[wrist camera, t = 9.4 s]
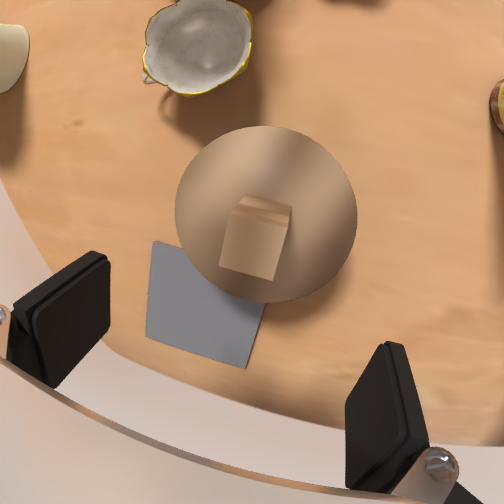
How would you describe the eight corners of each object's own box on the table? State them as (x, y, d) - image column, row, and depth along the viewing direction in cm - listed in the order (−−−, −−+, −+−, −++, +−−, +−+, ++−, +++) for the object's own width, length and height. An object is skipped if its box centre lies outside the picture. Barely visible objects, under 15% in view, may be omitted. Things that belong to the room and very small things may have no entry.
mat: (273, 274, 31) (273, 277, 30) (245, 365, 35) (245, 368, 35) (155, 240, 31) (152, 242, 31) (147, 333, 36) (145, 336, 35)
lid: (377, 155, 20) (404, 167, 14) (323, 313, 24) (325, 364, 19) (197, 109, 20) (160, 106, 15) (170, 270, 25) (136, 309, 20)
